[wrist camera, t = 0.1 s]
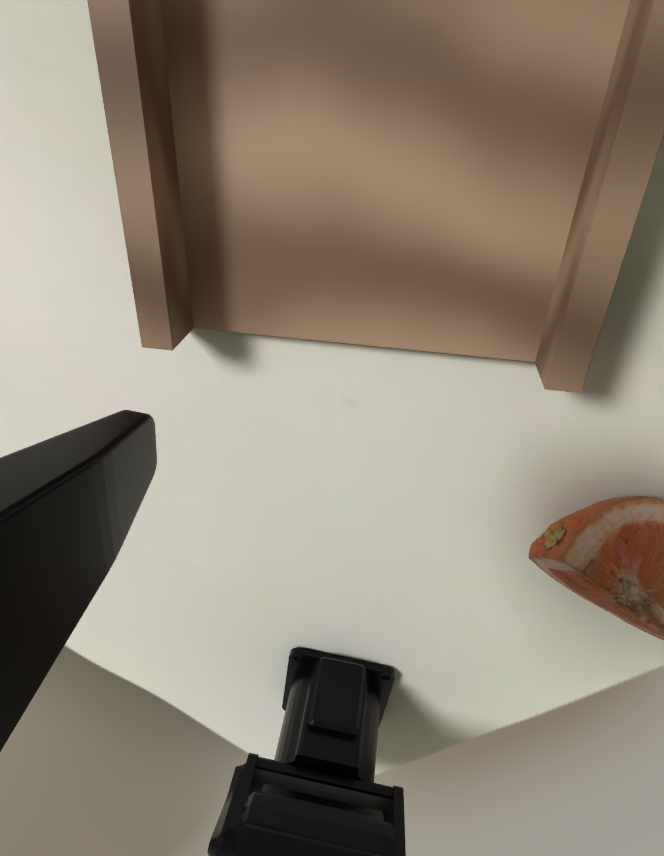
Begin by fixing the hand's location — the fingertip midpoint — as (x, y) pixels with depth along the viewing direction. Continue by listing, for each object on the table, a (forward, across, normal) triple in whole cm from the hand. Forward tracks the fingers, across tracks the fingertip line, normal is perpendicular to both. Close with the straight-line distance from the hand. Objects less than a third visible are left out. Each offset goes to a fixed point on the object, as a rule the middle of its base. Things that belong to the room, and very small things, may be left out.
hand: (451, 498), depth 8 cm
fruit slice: (+15, -11, +11) cm, 22 cm away
